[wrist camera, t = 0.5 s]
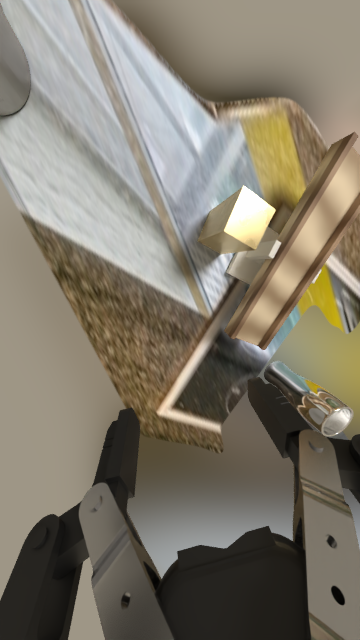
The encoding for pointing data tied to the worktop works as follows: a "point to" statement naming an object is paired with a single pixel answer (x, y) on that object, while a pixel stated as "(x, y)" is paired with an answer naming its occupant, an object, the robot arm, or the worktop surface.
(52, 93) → the worktop surface
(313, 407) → the beer glass
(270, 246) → the beam stand
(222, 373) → the worktop surface
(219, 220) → the block
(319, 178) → the balance beam
